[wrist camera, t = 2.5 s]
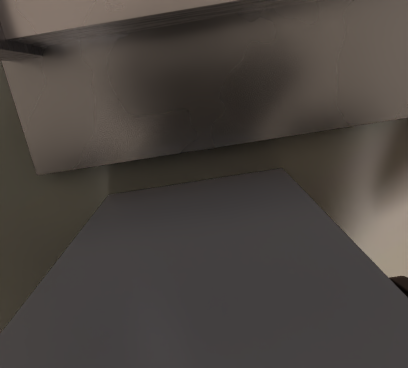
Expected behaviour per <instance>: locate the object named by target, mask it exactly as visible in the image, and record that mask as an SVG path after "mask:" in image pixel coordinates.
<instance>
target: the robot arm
mask: <svg viewBox="0 0 408 368" xmlns="http://www.w3.org/2000/svg"><path fill="white" fill-rule="evenodd" d="M389 279H390V280H391V281H392V282H393V283H394V284H395V285H396V286H397V287H398V288H399V289H400V290H401V291H402V292H403V293H404V294H405V295H406V296H407V297H408V278H407V277H405V276H397V277H390V278H389Z"/></svg>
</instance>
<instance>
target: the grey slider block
mask: <svg viewBox="0 0 408 368" xmlns="http://www.w3.org/2000/svg"><path fill="white" fill-rule="evenodd" d="M0 368H408V297H407V296H406V295H405V294H404V293H403V292H402V291H401V290H400V289H399V288H398V287H397V286H396V285H395V284H394V283H393V282H392V281H391V280H390V279H389V278H388V277H387V276H386V275H385V274H384V273H383V272H382V271H381V270H380V268H379V267H378V266H377V265H376V264H375V263H374V262H373V261H372V260H371V259H370V258H369V257H368V256H367V255H366V254H365V253H364V252H363V251H362V250H361V249H360V248H359V247H358V246H357V245H356V244H355V243H354V242H353V241H352V240H351V239H350V238H349V236H348V235H347V234H346V233H345V232H344V231H343V230H342V229H341V228H340V227H339V226H338V225H337V224H336V223H335V222H334V221H333V220H332V219H331V218H330V217H329V216H328V215H327V214H326V213H325V212H324V211H323V210H322V209H321V208H320V207H319V206H318V205H317V203H316V202H315V201H314V200H313V199H312V198H311V197H310V196H309V195H308V194H307V193H306V192H305V191H304V190H303V189H302V188H301V187H300V186H299V185H298V184H297V183H296V182H295V181H294V180H293V179H292V178H291V177H290V176H289V175H288V174H287V173H286V172H285V170H284V169H283V168H280V169H273V170H267V171H260V172H254V173H247V174H241V175H234V176H227V177H221V178H214V179H208V180H201V181H195V182H188V183H182V184H175V185H169V186H162V187H156V188H149V189H143V190H136V191H130V192H123V193H116V194H110V195H108V196H107V197H106V199H105V200H104V201H103V202H102V204H101V205H100V206H99V208H98V209H97V210H96V211H95V213H94V214H93V215H92V217H91V218H90V219H89V220H88V222H87V223H86V224H85V226H84V227H83V228H82V229H81V231H80V232H79V233H78V235H77V236H76V237H75V238H74V240H73V241H72V242H71V243H70V245H69V246H68V247H67V249H66V250H65V251H64V252H63V254H62V255H61V256H60V258H59V259H58V260H57V261H56V263H55V264H54V265H53V267H52V268H51V269H50V270H49V272H48V273H47V274H46V276H45V277H44V278H43V279H42V281H41V282H40V283H39V285H38V286H37V287H36V288H35V290H34V291H33V292H32V294H31V295H30V296H29V297H28V299H27V300H26V301H25V302H24V304H23V305H22V306H21V308H20V309H19V310H18V311H17V313H16V314H15V315H14V317H13V318H12V319H11V320H10V322H9V323H8V324H7V326H6V327H5V328H4V329H3V331H2V332H1V333H0Z"/></svg>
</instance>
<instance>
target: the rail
mask: <svg viewBox="0 0 408 368" xmlns="http://www.w3.org/2000/svg"><path fill="white" fill-rule="evenodd" d="M0 60H1V62H2V65H3V68H4V71H5V74H6V78H7V81H8V84H9V87H10V90H11V94H12V97H13V100H14V103H15V106H16V110H17V113H18V116H19V119H20V122H21V126H22V129H23V132H24V135H25V138H26V142H27V145H28V148H29V151H30V154H31V158H32V161H33V164H34V167H35V170H36V174H37V175H43V174H49V173H55V172H62V171H68V170H75V169H81V168H88V167H94V166H100V165H107V164H113V163H120V162H126V161H133V160H139V159H145V158H152V157H158V156H165V155H171V154H178V153H184V152H190V151H197V150H203V149H210V148H216V147H223V146H229V145H235V144H242V143H248V142H255V141H261V140H268V139H274V138H280V137H287V136H293V135H300V134H306V133H313V132H319V131H325V130H332V129H338V128H345V127H351V126H358V125H364V124H370V123H377V122H383V121H390V120H396V119H403V118H408V0H0Z"/></svg>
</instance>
